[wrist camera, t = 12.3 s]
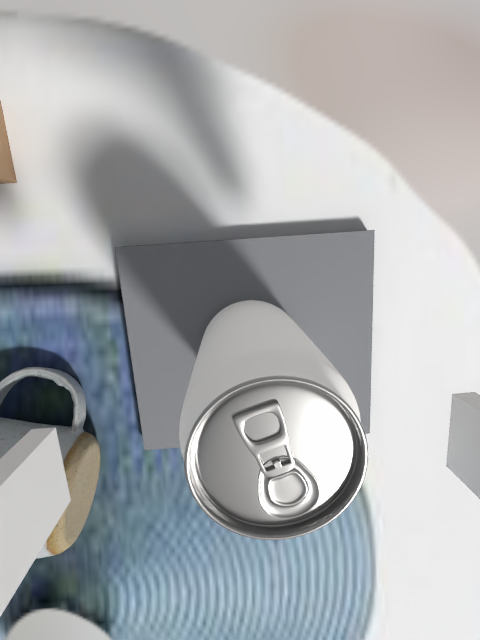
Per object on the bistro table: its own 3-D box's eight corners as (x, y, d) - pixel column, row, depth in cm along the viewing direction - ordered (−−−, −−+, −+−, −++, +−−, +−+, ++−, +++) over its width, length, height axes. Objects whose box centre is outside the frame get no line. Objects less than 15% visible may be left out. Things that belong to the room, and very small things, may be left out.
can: (223, 405, 22) (217, 577, 11) (186, 319, 21) (132, 409, 9) (312, 372, 22) (406, 512, 10) (280, 283, 21) (347, 329, 9)
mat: (148, 441, 24) (144, 450, 23) (120, 247, 21) (115, 247, 20) (363, 425, 24) (369, 433, 23) (367, 230, 21) (374, 230, 20)
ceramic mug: (105, 498, 25) (51, 603, 17) (-6, 489, 25) (-110, 593, 17) (111, 367, 23) (53, 422, 15) (-10, 354, 22) (-130, 406, 15)
